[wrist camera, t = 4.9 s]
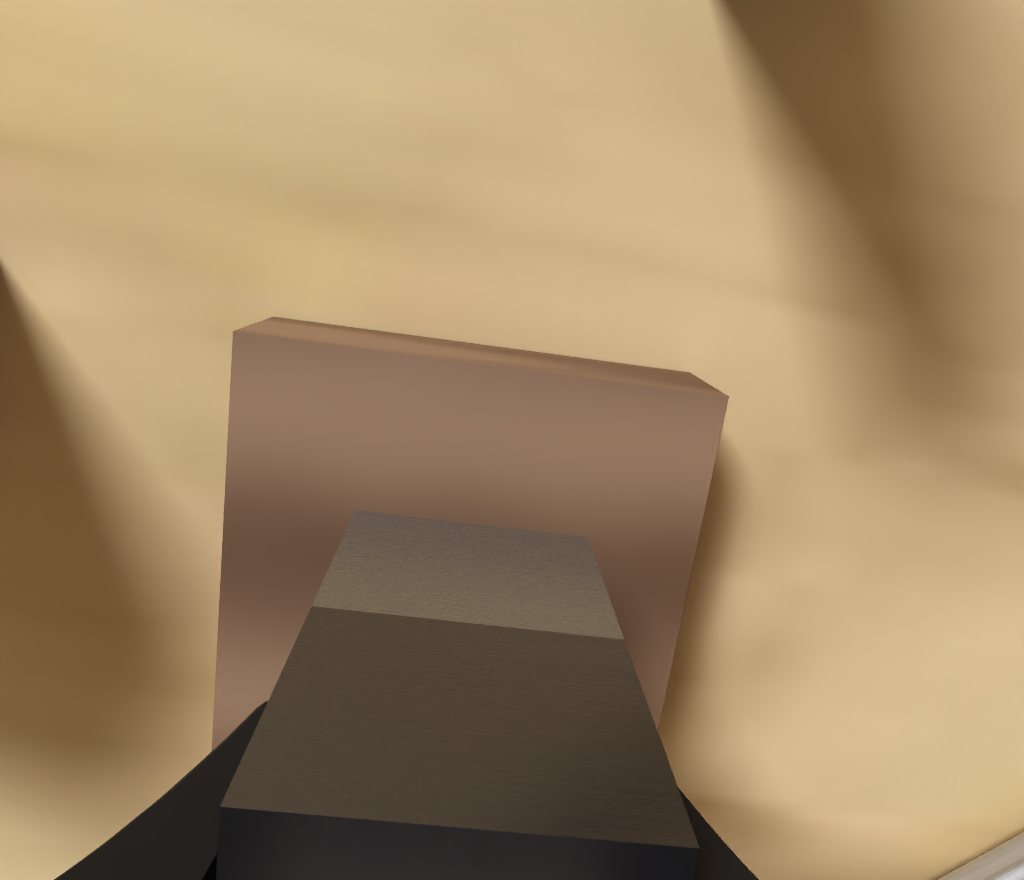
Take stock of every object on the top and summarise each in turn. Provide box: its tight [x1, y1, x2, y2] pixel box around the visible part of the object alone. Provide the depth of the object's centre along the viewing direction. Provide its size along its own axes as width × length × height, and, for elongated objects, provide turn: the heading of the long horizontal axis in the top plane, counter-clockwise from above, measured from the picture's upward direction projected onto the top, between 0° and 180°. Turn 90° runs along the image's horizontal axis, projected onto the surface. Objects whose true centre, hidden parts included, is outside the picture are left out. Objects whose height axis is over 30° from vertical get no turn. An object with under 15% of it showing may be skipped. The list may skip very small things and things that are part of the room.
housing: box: [216, 510, 700, 880], centre depth 10 cm, size 6×4×8 cm, turn 172°
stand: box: [212, 317, 729, 751], centre depth 18 cm, size 10×10×3 cm
